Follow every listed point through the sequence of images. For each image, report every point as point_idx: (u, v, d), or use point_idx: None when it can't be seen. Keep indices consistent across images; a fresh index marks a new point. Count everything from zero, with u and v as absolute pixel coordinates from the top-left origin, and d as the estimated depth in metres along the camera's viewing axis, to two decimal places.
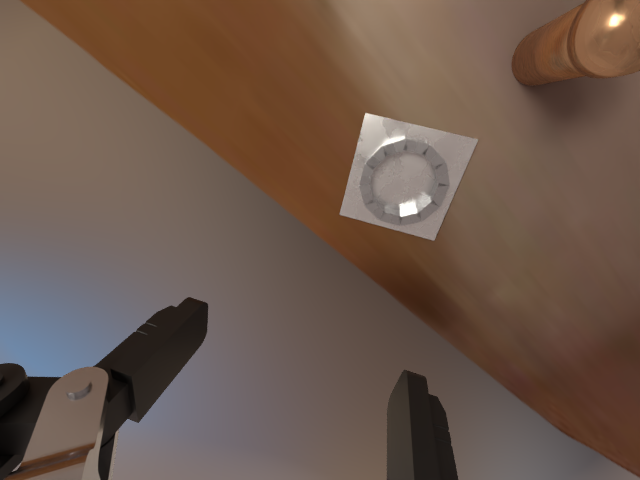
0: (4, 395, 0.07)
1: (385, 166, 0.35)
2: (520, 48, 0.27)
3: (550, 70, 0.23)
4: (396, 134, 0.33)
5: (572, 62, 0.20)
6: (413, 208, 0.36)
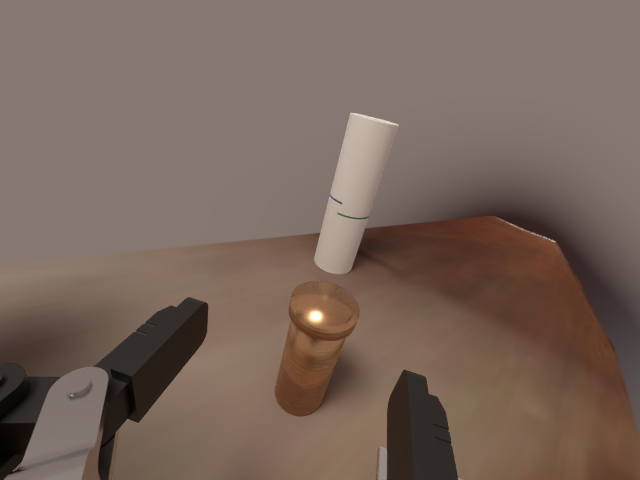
0: (4, 395, 0.07)
1: None
2: (292, 405, 0.26)
3: (332, 365, 0.25)
4: None
5: (346, 335, 0.22)
6: None
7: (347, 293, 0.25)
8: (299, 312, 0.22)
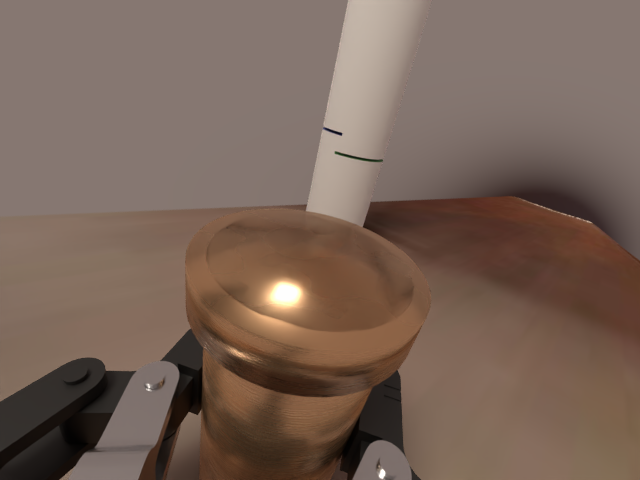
0: (91, 387, 0.07)
1: None
2: None
3: (341, 450, 0.08)
4: None
5: (394, 368, 0.06)
6: None
7: (376, 236, 0.09)
8: (205, 281, 0.05)
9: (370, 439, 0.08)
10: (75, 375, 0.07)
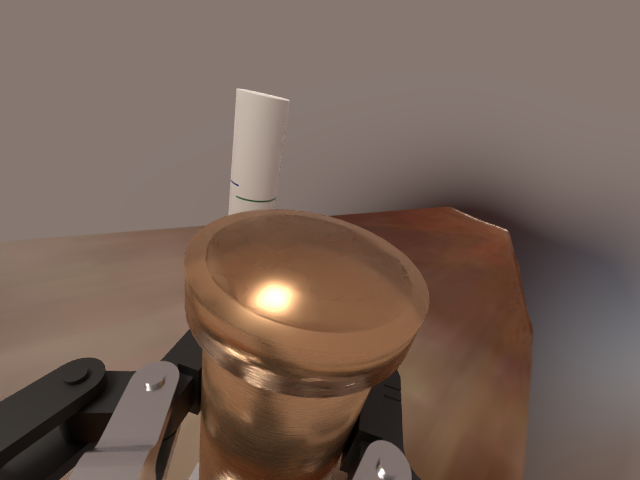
0: (90, 387, 0.07)
1: None
2: None
3: (340, 451, 0.08)
4: None
5: (392, 369, 0.06)
6: None
7: (375, 237, 0.09)
8: (204, 282, 0.05)
9: (370, 439, 0.08)
10: (75, 375, 0.07)
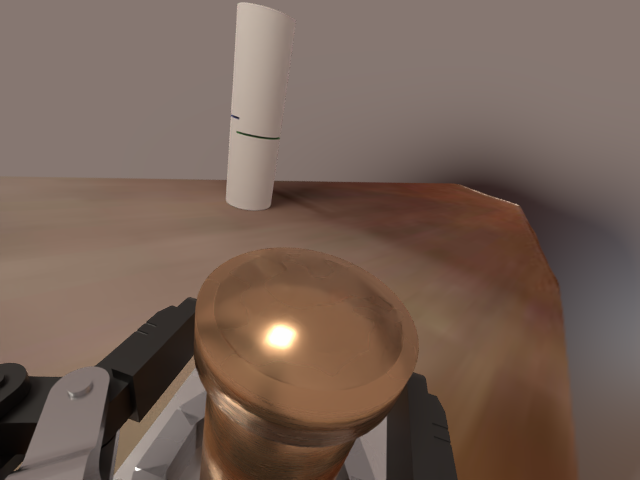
0: (6, 395, 0.07)
1: None
2: None
3: None
4: None
5: (383, 417, 0.06)
6: None
7: (371, 278, 0.09)
8: (214, 338, 0.06)
9: None
10: None
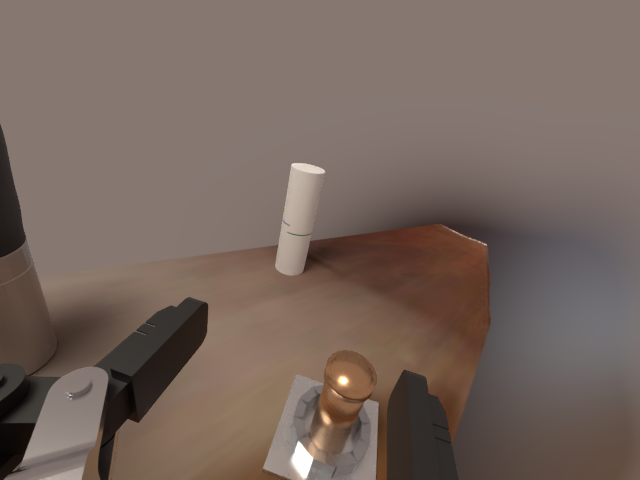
0: (4, 395, 0.07)
1: None
2: (326, 446, 0.34)
3: (357, 415, 0.33)
4: (287, 435, 0.36)
5: (368, 397, 0.30)
6: None
7: (365, 360, 0.33)
8: (334, 383, 0.30)
9: None
10: None
